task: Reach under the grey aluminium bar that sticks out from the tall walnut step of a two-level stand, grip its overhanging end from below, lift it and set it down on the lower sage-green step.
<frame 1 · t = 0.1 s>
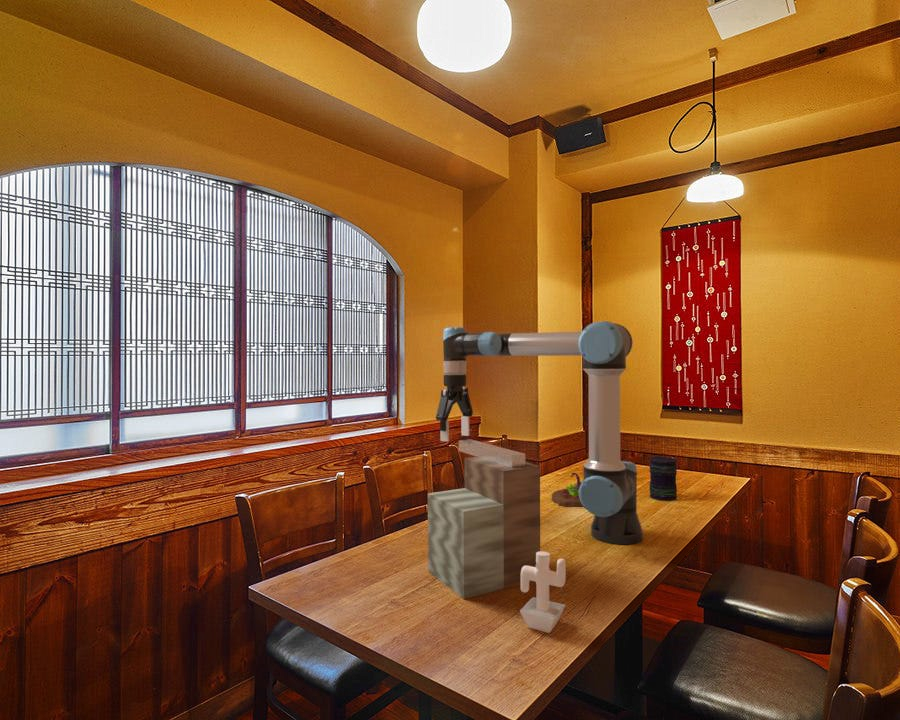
hand: (455, 438, 175), 28 cm above the table, tool pointing down, fingers open, 13 cm apart
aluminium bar: (489, 457, 141), point 28 cm above the table, touching two-step stand
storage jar: (663, 498, 205), on the table
figurine: (542, 626, 109), on the table
plant: (577, 502, 200), on the table
two-step stand: (483, 574, 134), on the table
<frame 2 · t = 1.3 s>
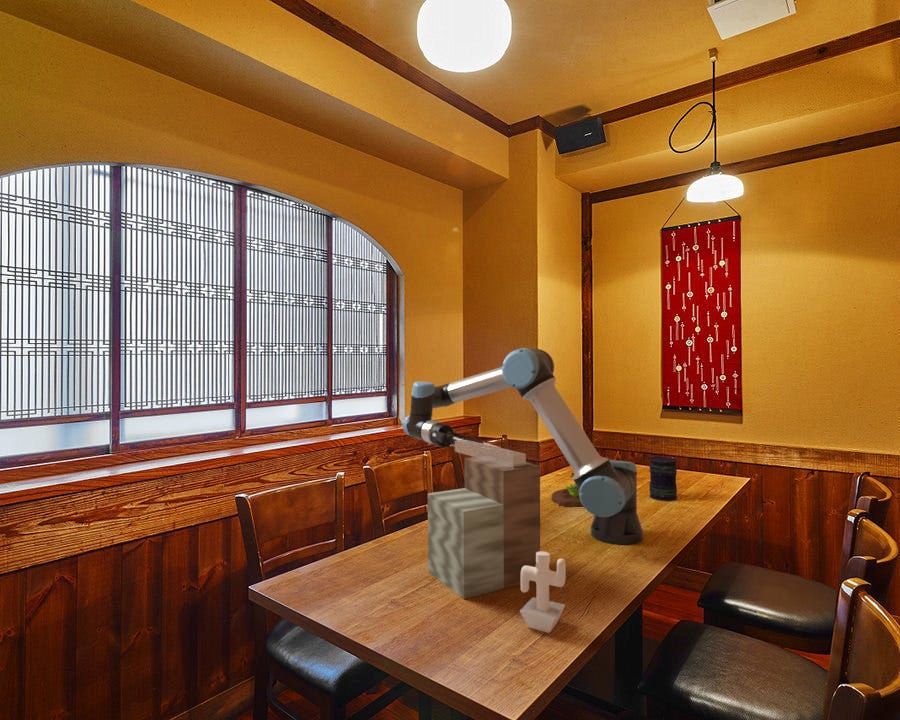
hand: (483, 449, 158), 27 cm above the table, tool horizontal, fingers open, 13 cm apart
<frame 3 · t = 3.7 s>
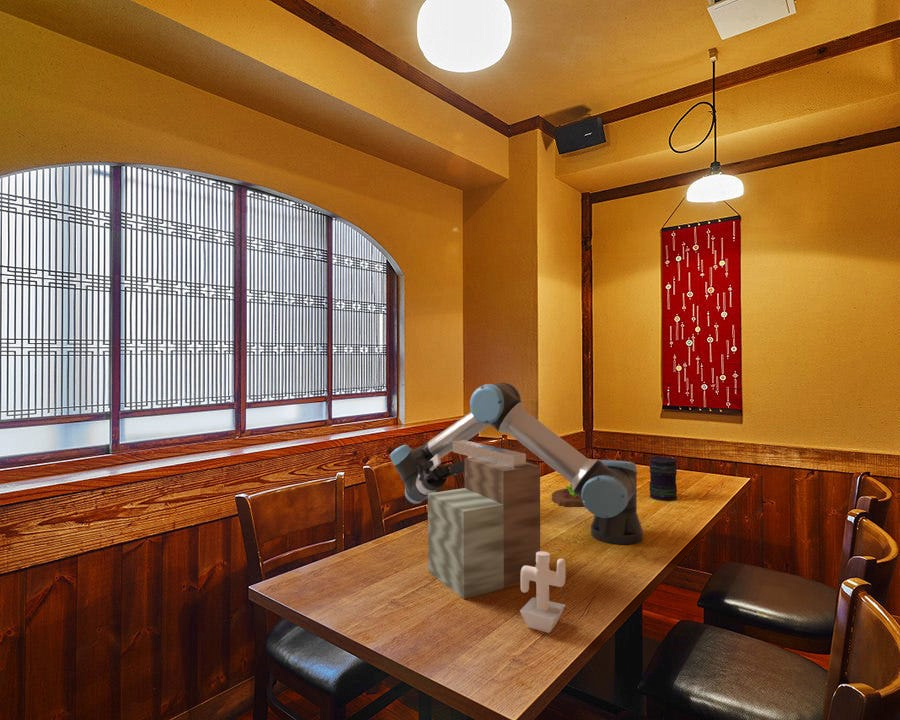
hand: (459, 456, 155), 26 cm above the table, tool pointing upward, fingers open, 13 cm apart
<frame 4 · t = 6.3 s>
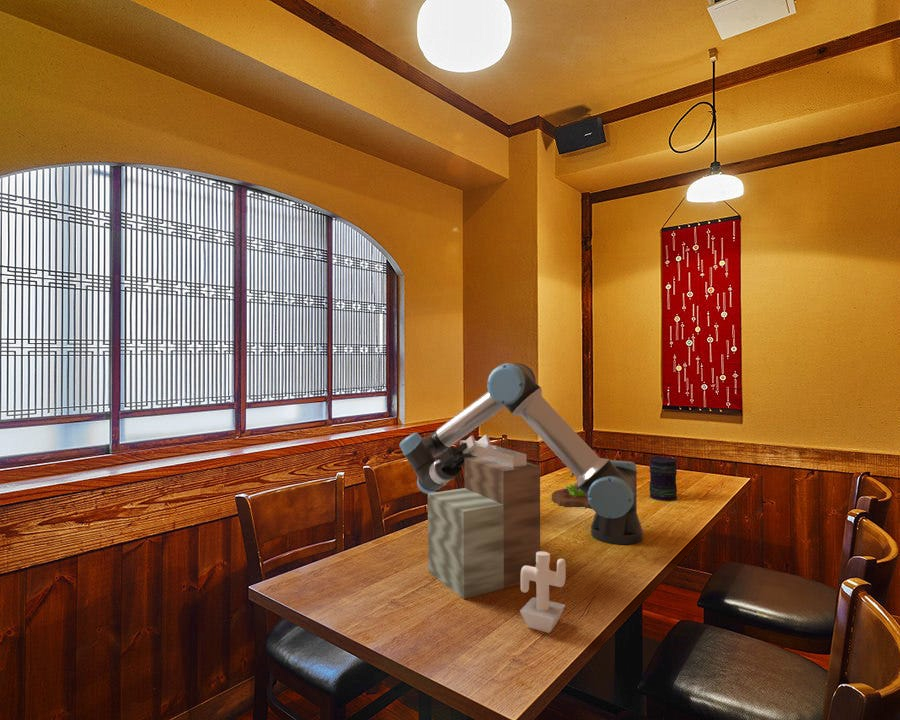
hand: (480, 439, 145), 32 cm above the table, tool pointing upward, fingers closed on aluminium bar, 4 cm apart
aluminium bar: (490, 458, 141), point 28 cm above the table, touching gripper, two-step stand
everything else where it was.
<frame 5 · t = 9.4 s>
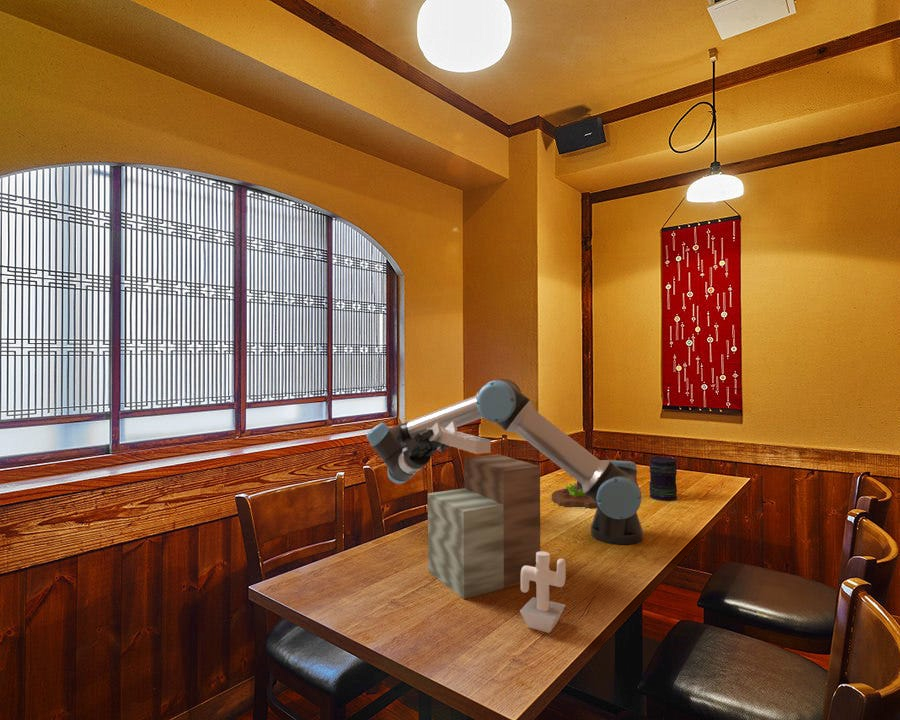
hand: (447, 426, 141), 37 cm above the table, tool pointing upward, fingers closed on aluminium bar, 4 cm apart
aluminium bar: (456, 445, 136), point 32 cm above the table, touching gripper
everything else where it was.
when the fingers open (25 cm above the table, at t = 12.8 s): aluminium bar drops 1 cm, resting on two-step stand.
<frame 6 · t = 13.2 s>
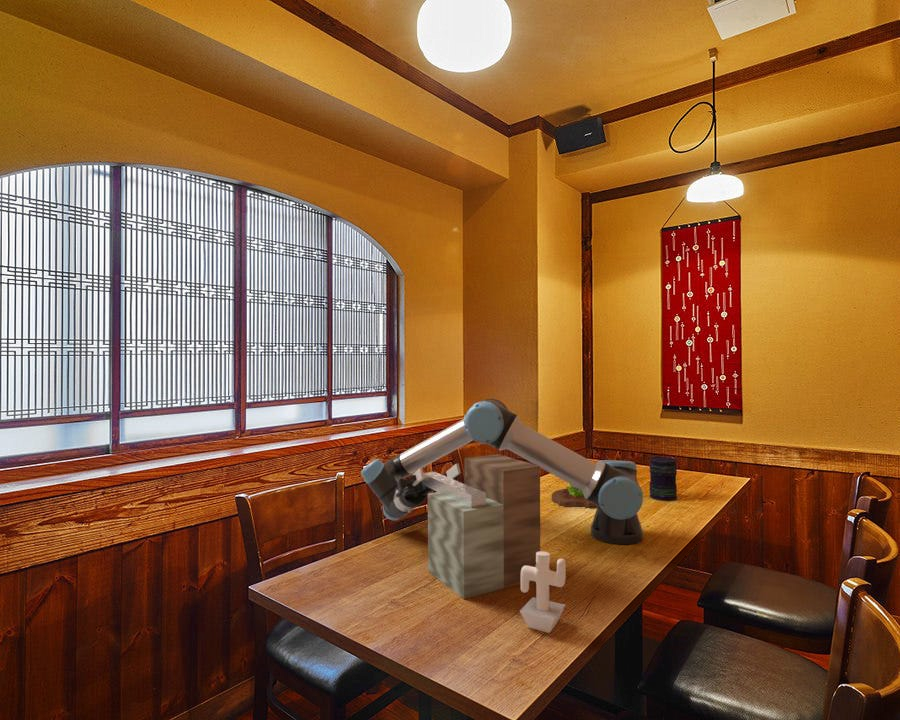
hand: (440, 470, 140), 25 cm above the table, tool pointing upward, fingers open, 10 cm apart
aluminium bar: (451, 494, 135), point 20 cm above the table, touching two-step stand
everything else where it was.
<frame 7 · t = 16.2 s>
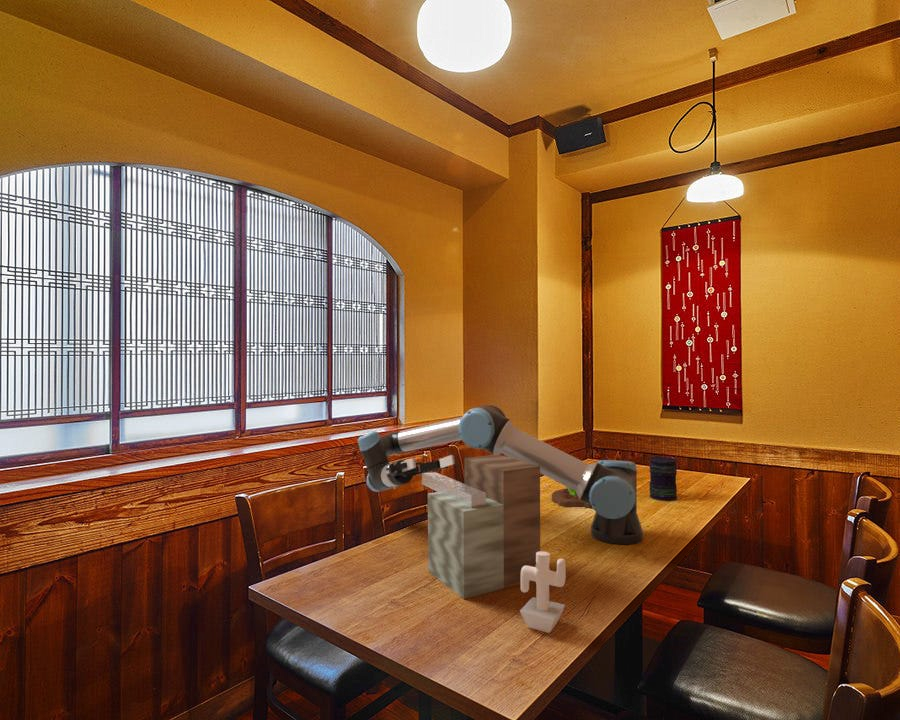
hand: (434, 461, 152), 25 cm above the table, tool pointing upward, fingers open, 13 cm apart
nothing on the table moved.
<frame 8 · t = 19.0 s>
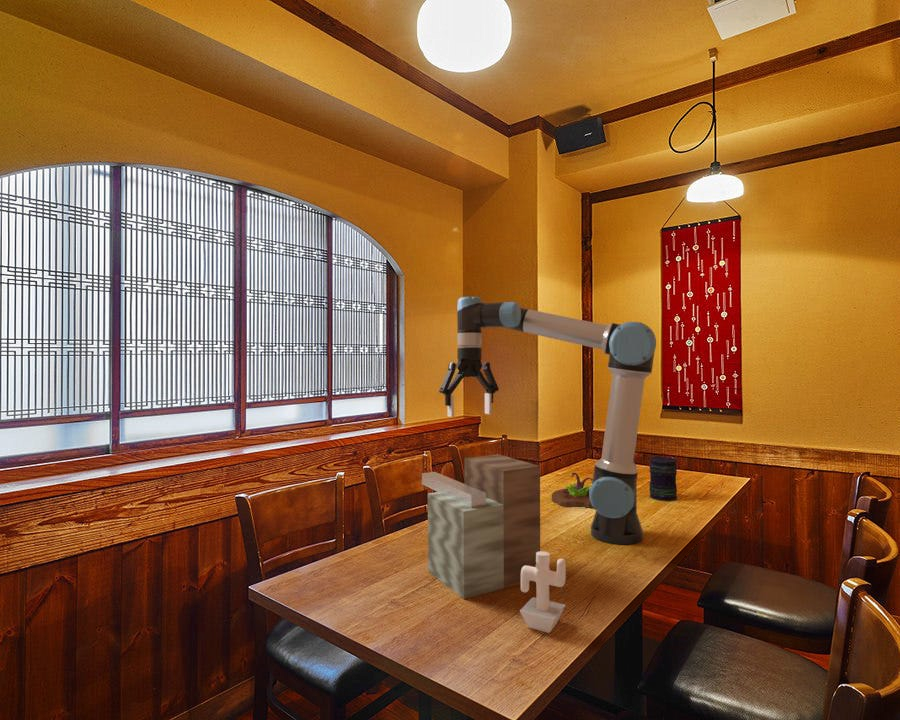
hand: (469, 415, 165), 37 cm above the table, tool pointing down, fingers open, 13 cm apart
nothing on the table moved.
at the end: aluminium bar 0.6 cm from the target spot, point 20.0 cm above the table; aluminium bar tilted 0°; the gripper is holding nothing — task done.
